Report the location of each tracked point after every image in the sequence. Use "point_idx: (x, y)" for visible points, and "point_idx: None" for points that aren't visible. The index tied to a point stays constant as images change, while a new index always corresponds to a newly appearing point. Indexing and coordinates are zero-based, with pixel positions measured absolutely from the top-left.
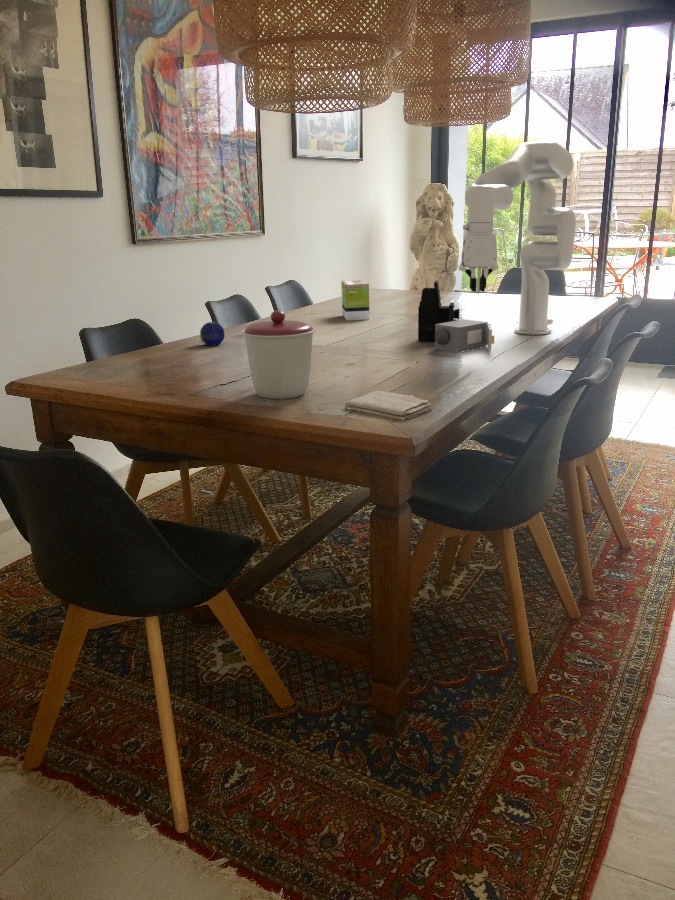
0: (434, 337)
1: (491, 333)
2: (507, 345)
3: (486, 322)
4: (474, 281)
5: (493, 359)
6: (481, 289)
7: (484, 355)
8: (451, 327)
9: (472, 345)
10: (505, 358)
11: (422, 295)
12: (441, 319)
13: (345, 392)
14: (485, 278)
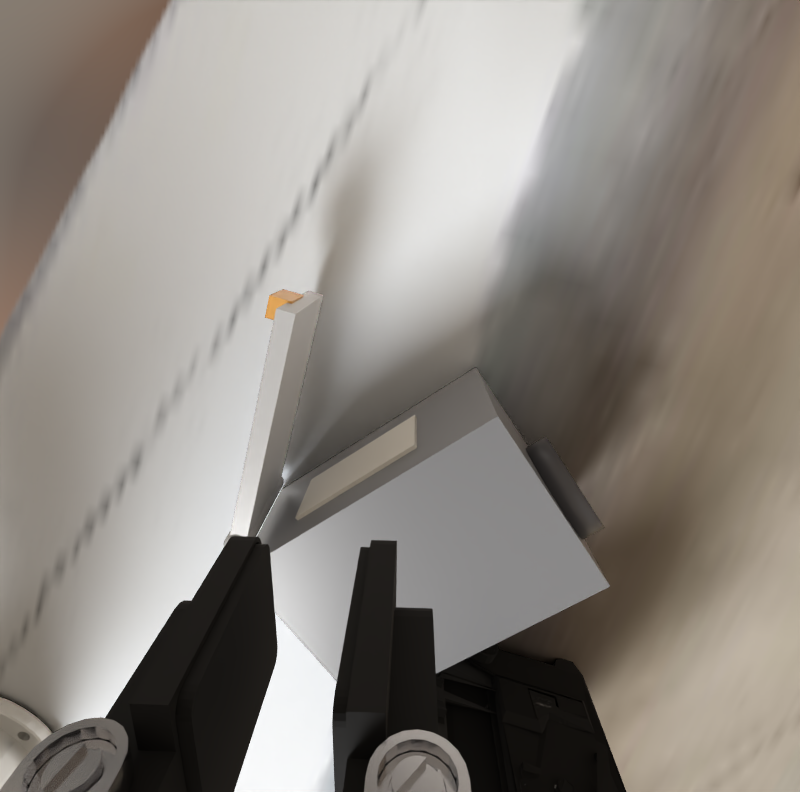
0: (512, 662)
1: (285, 306)
2: (166, 498)
3: None
4: (388, 656)
5: (341, 127)
6: (266, 579)
7: (358, 263)
8: (535, 473)
9: (377, 437)
10: (263, 140)
11: None
12: (486, 756)
13: None
14: (116, 734)
